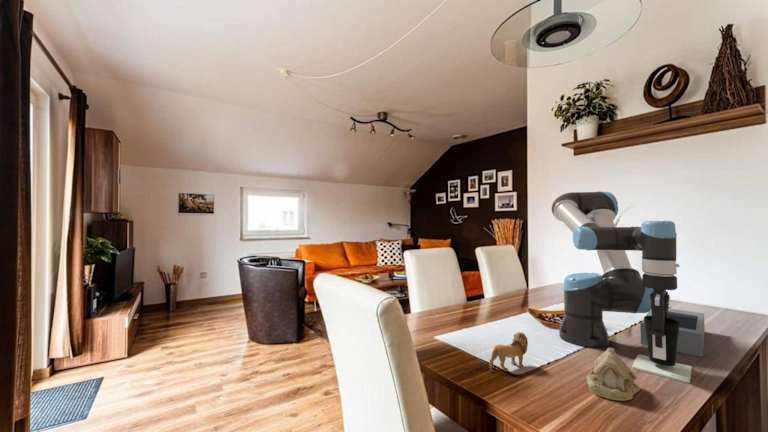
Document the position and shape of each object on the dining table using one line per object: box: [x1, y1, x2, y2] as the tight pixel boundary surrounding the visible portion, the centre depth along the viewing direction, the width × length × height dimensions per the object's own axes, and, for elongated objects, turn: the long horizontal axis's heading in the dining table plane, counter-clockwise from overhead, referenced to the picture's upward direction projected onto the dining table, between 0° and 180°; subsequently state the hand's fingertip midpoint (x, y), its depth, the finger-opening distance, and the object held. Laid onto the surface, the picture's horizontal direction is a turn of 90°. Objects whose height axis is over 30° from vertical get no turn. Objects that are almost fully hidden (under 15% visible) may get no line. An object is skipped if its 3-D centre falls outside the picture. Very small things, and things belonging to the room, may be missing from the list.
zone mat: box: [631, 353, 693, 384], centre depth 91 cm, size 12×12×1 cm
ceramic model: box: [586, 347, 641, 402], centre depth 80 cm, size 14×11×10 cm
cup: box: [643, 315, 679, 366], centre depth 91 cm, size 8×8×12 cm
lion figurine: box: [488, 331, 529, 372], centre depth 93 cm, size 15×5×9 cm, turn 119°
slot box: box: [640, 308, 706, 358], centre depth 115 cm, size 15×32×7 cm, turn 134°
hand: (661, 353), depth 91 cm, fingers closed on cup, 8 cm apart
